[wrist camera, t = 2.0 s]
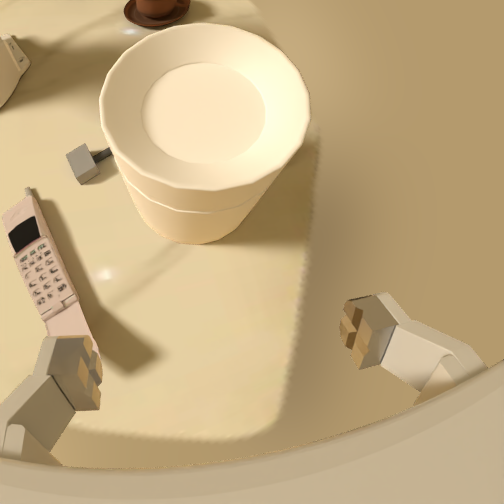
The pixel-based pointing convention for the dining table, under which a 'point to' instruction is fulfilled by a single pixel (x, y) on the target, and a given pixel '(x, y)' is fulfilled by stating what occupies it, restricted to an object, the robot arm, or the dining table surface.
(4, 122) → the dining table surface
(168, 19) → the cup and saucer
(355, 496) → the robot arm
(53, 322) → the mobile phone
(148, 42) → the canister
